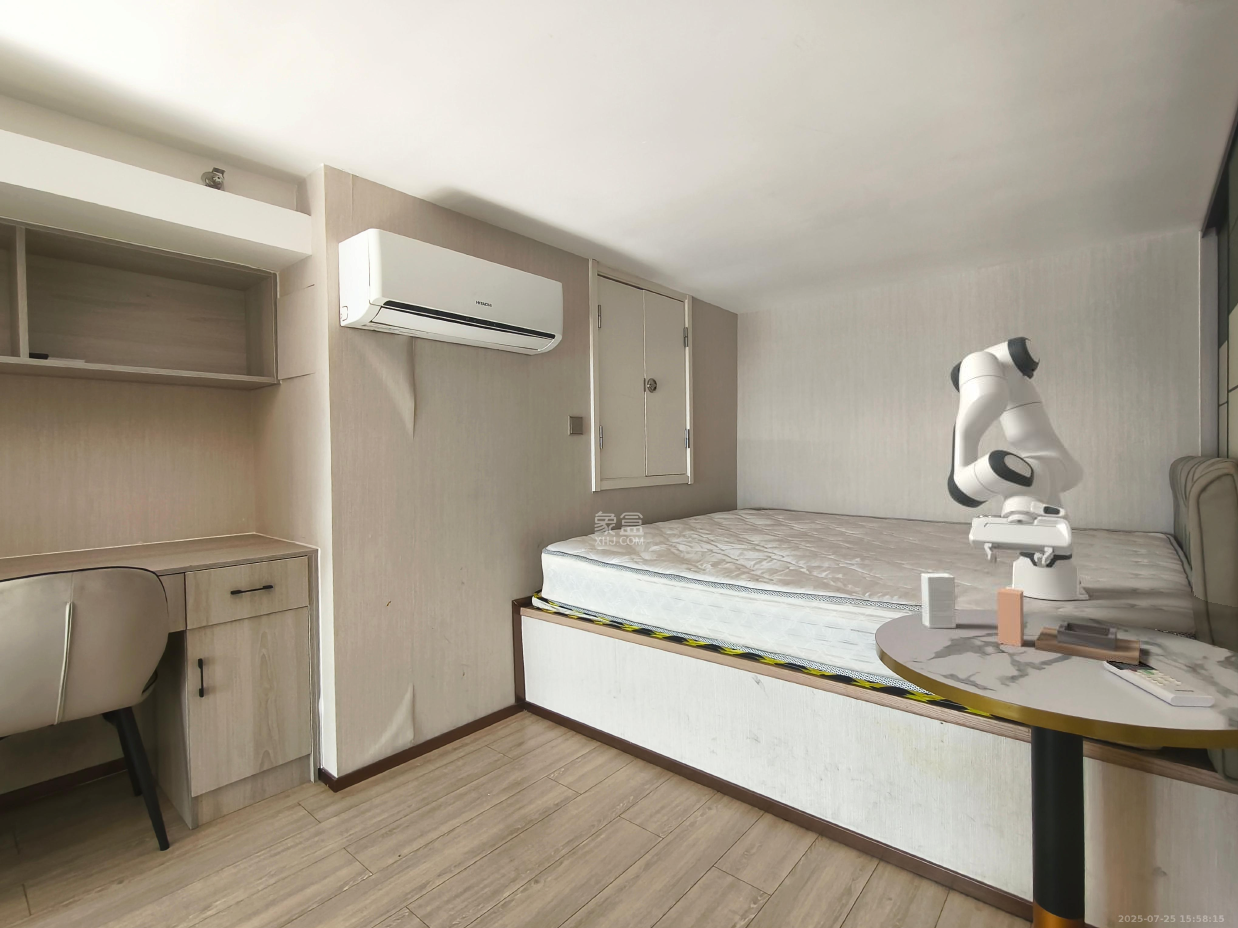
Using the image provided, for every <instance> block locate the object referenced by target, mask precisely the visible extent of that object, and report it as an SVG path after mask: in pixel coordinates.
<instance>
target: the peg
mask: <svg viewBox="0 0 1238 928" xmlns="http://www.w3.org/2000/svg"><path fill="white" fill-rule="evenodd" d="M1024 618H1025V616H1024V596H1023V590H1014V589H1006V587H1001V588H1000V589H999V590H997V643H998V644H1001V643H1003V644H1002V645H1007V646H1013V645H1014V647H1015V646H1016V647H1018V648H1019V647H1020V648H1021V647H1022V645H1023V644H1024V642H1025V641H1024V640H1025V635H1024V634H1025V632H1024V629H1025V628H1024V627H1025V626H1024V625H1025V622H1024Z"/></svg>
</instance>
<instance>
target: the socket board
mask: <svg viewBox="0 0 1238 928" xmlns="http://www.w3.org/2000/svg"><path fill="white" fill-rule="evenodd" d="M1034 649H1035V650H1039V651H1045V652H1050V653H1056V654H1062V655H1066V656H1067V655H1068V656H1074V657H1080V658H1085V659H1086V658H1088V659H1092V660H1097V661H1103V662H1104V661H1105V662H1109V661H1116V662H1123V663H1132V664H1137V665H1138V664H1139V663H1140V662H1139V661H1140V650H1141V640H1134V639H1127V638H1121V637H1118V628H1117V627H1112V626H1104V625H1098V624H1097V625H1096V624H1089V623H1081V622H1074V621H1069V620H1068V621H1067V620H1066V621H1065V620H1062V621H1061V622H1060V624H1059V627H1058V628H1052V627H1043V628H1042V630H1041V631H1040V633H1039V635H1038V636H1037V638H1036V640H1035V641H1034ZM1106 660H1108V661H1106ZM1138 666H1139V665H1138Z"/></svg>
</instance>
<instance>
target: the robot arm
mask: <svg viewBox="0 0 1238 928" xmlns="http://www.w3.org/2000/svg"><path fill="white" fill-rule="evenodd" d="M1039 353H1040V352H1039V350H1038V348H1037V346H1036V344H1035V343H1034V342H1033V341H1031V340H1030V338H1027V337H1025V336H1018V337H1017V336H1016V337H1012V338H1010V339H1008V340H1007V341H1004V342H1001V343H998V344H996V345H992V346H990V347H987V348H985V349H984V350H981V351H975V352H972V353H970V354H968V355H967V356H965V358H964V359H962V360H961V361H960V362H958V363H957V364H956V365H954V366H953V367H952V369H951V372H950V380H951V383H952V386H953V387H954V389H955V391H957V393H959V406H958V411H957V415H956V418H955V421H954V426H953V430H952V443H951V444H952V446H951V468H950V473H949V475H948V479H947V491H948V494H949V496H950V498H951V499H952V500H953V501H955V503H957V504H959V505H961V506H962V507H967V508H969V509H970V508H972V509H976V508H979V507H980V506H982V505H983V504H985V503H987V502H988V501H990V500H991V499H993V498H995V497H997V496H999V495H1000V496H1002V497H1003V499H1004V500H1003V504H1002V509H1001V515H999V514H998V515H997V514H991V515H988V514H980V515H978V516H976V517H973V519H972V521H971V528H970V532H969V534H968V539H969V540H968V541H969V544H970V545H971V546H972V548H973V549H980V550H981V549H982V550H984V551H985V553H986V555H987V562H988V564H997V561H998V557H997V554H996V553H993V551H995V550H997V551H1006V552H1019V558H1018V559H1016V560H1015V561H1013V564H1012V565H1013V567H1012V583H1011V584H1009V585H1006V586H1005V588H1006V589H1014V590H1023V597H1029V598H1034V599H1042V600H1052V601H1053V600H1054V601H1073V600H1076V601H1077V600H1080V601H1081V600H1085V601H1086V600H1089V599H1090V598H1089V595H1088V594H1087V592H1086V591H1085V589H1084V588H1083V587H1082V586H1081V584H1082V581H1081V580H1080V579H1079V574H1080V573H1079V567H1078V566H1077V565H1076V564H1075V563H1073V560H1072V559H1073V553H1074V552H1075V542H1074V535H1073V531H1072V525H1071V523H1070V522H1071V519H1070V516H1069V514H1068V513H1067V510H1066V509H1065V508H1064V505H1063V502H1062V499H1061V494H1060V493H1066V492H1069V491H1071V490H1072V489H1074V488H1075V487H1077V486H1078V485H1080V483H1081V482H1082V480H1083V479H1084V469H1083V466H1082V464H1081V463H1080V462H1079V461H1078V460H1077V459H1075V458H1074V457H1073V456H1072V454H1071V453H1070V452H1069V451H1068V449H1067V448H1066V447H1065V445H1064V443H1063V442H1062V441H1061V439H1060V437H1059V436H1058V434H1057V433H1056V431H1055V429H1054V427H1053V426H1052V423H1051V421H1050V418H1049V416H1048V413H1047V410H1046V408H1045V406H1044V403H1043V400H1042V398H1041V397H1040V393H1039V392H1038V390H1037V388H1036V386H1035V385H1034V384H1033V382H1032V381H1031V379H1033V377H1034V375H1035V374H1034V373H1035V372H1036V371H1037V370H1038V367H1039V364H1040V354H1039ZM998 420H999V422H1000V425H1001V427H1002V430H1003V433H1004V436H1005V438H1006V441H1007V442H1008V443H1009V444H1010V445H1011V446H1012V447H1013V448H1015V450H1016V452H1018V453H1019V455H1020V456H1019V455H1017V454H1015V453H1014V452H1010V451H1008V450H1004V449H994V450H992V451H991V452H989V453H987V454H985V455H983V456H982V457H980V458H979V444H980V443H981V439H982V438H983V436H984V435H985V433H986V432H987V431H988V430H989V428H990V427H991V426H993V424H994V423H995V422H996V421H998Z"/></svg>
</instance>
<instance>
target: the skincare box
mask: <svg viewBox="0 0 1238 928" xmlns="http://www.w3.org/2000/svg"><path fill="white" fill-rule="evenodd" d="M920 576H921V577H920V581H921V583H920V584H921V585H920V587H921V609H922V610H921V613H922V615H921V616H922V625H925V626H926V627H927V628H929V629H955V628H957V626H956V625H957V624H956V622H957V620H956V619H957V618H956V587H955V586H956V582H955V580H956V579H955V578H956V577H955V576H953V575H951V574H950V573H946V572H944V573H939V572H938V573H932V572H931V573H921V574H920Z"/></svg>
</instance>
